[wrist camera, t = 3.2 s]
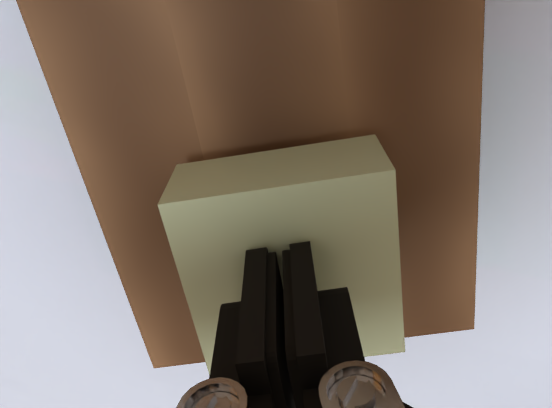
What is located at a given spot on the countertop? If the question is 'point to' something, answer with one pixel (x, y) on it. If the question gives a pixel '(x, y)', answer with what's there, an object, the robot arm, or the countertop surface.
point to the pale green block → (291, 229)
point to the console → (270, 124)
